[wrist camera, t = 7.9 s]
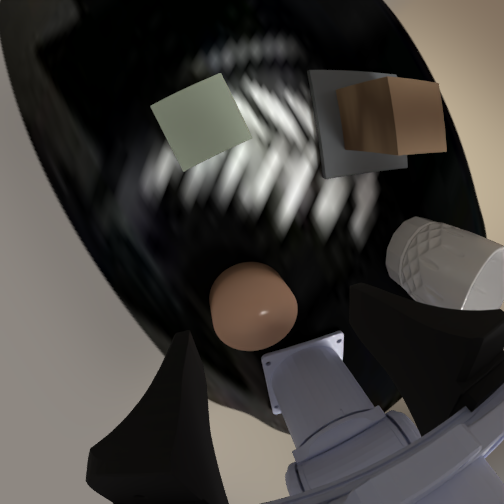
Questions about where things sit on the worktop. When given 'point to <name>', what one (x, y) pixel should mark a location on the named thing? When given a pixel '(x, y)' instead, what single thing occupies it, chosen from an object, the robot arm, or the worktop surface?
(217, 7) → the worktop surface
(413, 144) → the walnut block
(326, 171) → the plate
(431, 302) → the white cup
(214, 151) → the sage cube
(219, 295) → the brown rounded disc
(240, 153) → the worktop surface
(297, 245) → the worktop surface
